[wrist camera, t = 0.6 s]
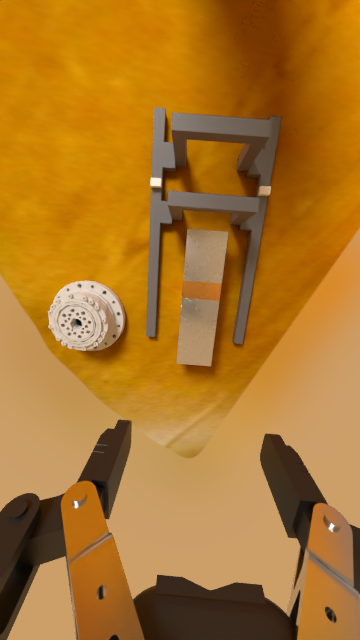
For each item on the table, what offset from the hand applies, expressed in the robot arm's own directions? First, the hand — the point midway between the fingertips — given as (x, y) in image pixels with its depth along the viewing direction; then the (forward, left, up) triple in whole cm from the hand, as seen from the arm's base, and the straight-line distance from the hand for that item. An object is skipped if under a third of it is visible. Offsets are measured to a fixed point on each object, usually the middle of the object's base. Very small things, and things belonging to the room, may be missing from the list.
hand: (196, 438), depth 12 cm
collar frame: (-13, +1, -18) cm, 22 cm away
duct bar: (-6, +1, -18) cm, 19 cm away
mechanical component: (-2, -14, -19) cm, 24 cm away
